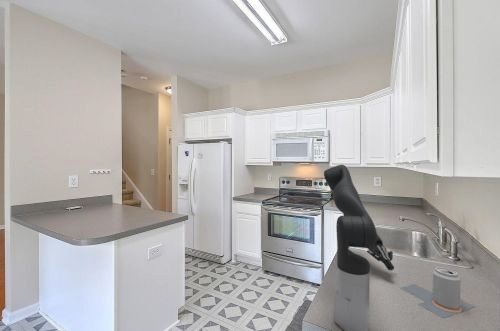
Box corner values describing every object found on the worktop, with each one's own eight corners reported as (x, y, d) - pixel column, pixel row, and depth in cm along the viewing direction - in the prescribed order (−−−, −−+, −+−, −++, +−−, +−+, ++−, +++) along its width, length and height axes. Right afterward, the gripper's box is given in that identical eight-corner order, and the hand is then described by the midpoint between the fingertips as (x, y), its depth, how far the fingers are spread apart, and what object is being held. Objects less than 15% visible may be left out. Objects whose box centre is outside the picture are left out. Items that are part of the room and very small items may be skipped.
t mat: (443, 319, 75) (443, 317, 75) (391, 290, 91) (391, 289, 91) (475, 307, 81) (475, 306, 81) (421, 282, 98) (421, 282, 98)
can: (466, 311, 78) (466, 275, 78) (442, 309, 79) (442, 274, 79) (449, 298, 86) (449, 266, 86) (427, 297, 86) (428, 265, 86)
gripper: (362, 229, 109) (383, 261, 94) (385, 234, 112) (409, 265, 97) (354, 240, 112) (373, 272, 97) (376, 244, 115) (399, 276, 100)
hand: (391, 269), depth 97 cm, fingers closed
